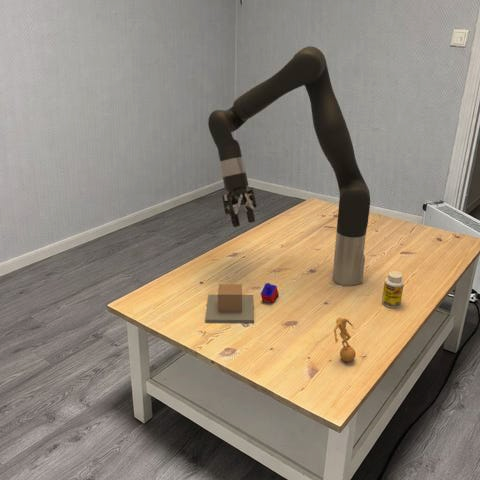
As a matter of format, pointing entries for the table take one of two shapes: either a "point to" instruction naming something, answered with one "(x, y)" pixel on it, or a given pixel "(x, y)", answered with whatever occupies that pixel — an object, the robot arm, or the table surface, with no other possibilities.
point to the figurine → (347, 351)
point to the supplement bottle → (393, 290)
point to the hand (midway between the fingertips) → (244, 224)
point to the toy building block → (269, 292)
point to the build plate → (230, 316)
